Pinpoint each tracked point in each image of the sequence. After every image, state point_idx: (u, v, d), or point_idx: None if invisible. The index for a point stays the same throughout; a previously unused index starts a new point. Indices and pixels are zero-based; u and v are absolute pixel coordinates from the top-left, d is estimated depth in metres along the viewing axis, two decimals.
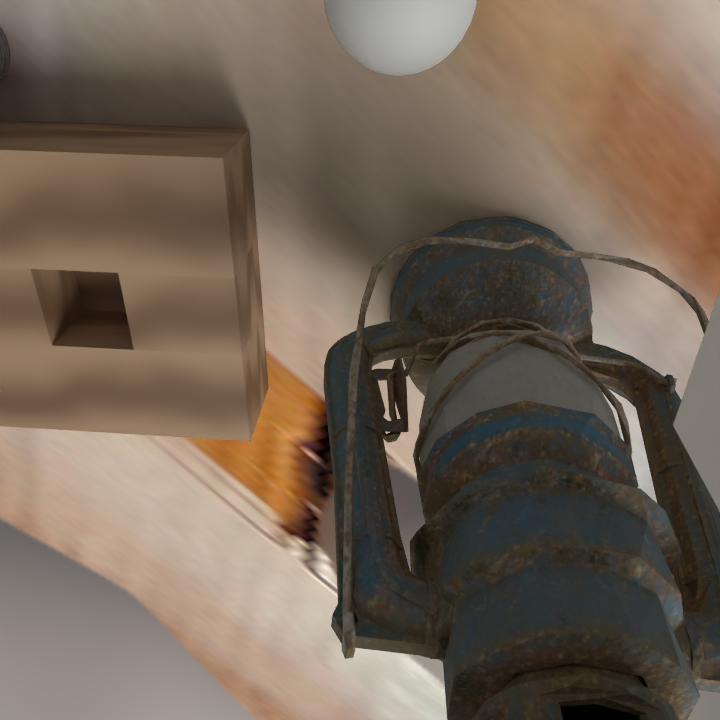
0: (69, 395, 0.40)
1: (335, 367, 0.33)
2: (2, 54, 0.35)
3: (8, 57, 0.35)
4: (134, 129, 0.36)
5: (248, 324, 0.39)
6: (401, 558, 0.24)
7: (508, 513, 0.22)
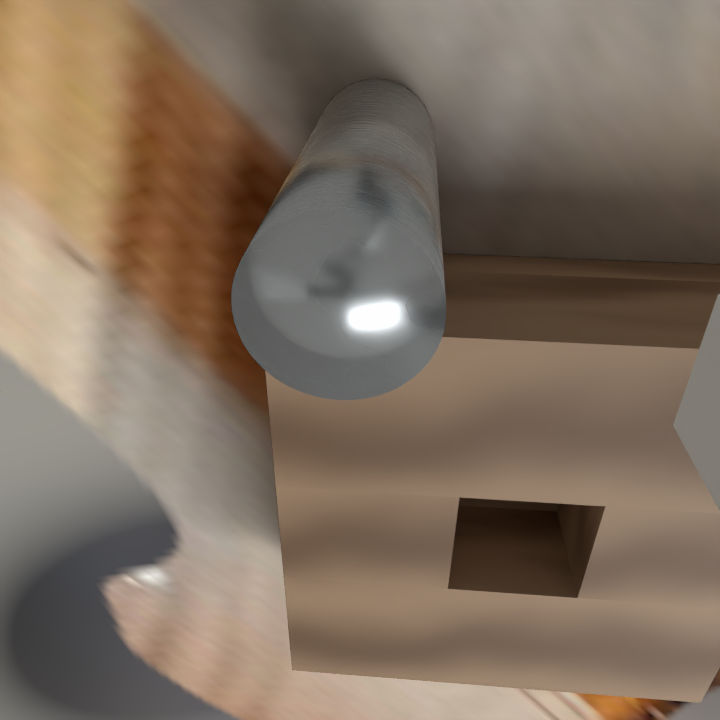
0: (446, 644, 0.27)
1: None
2: None
3: None
4: (617, 271, 0.23)
5: None
6: None
7: None
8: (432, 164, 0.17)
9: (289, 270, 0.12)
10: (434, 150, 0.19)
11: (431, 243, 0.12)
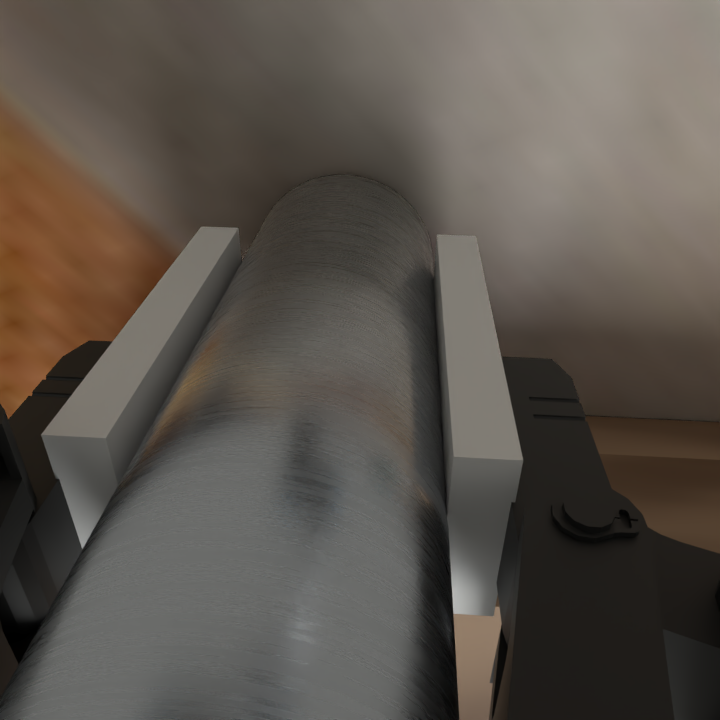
0: None
1: None
2: None
3: None
4: (693, 445, 0.16)
5: None
6: None
7: None
8: (431, 362, 0.10)
9: None
10: (433, 305, 0.12)
11: None
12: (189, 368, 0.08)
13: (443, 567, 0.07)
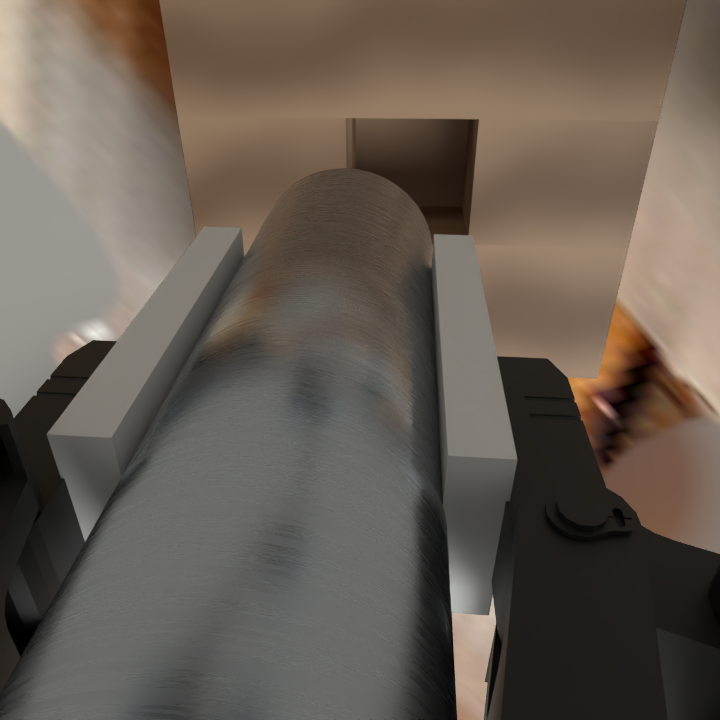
0: None
1: None
2: None
3: None
4: None
5: None
6: None
7: None
8: (429, 344, 0.10)
9: None
10: None
11: (428, 693, 0.05)
12: (199, 348, 0.09)
13: (440, 530, 0.07)
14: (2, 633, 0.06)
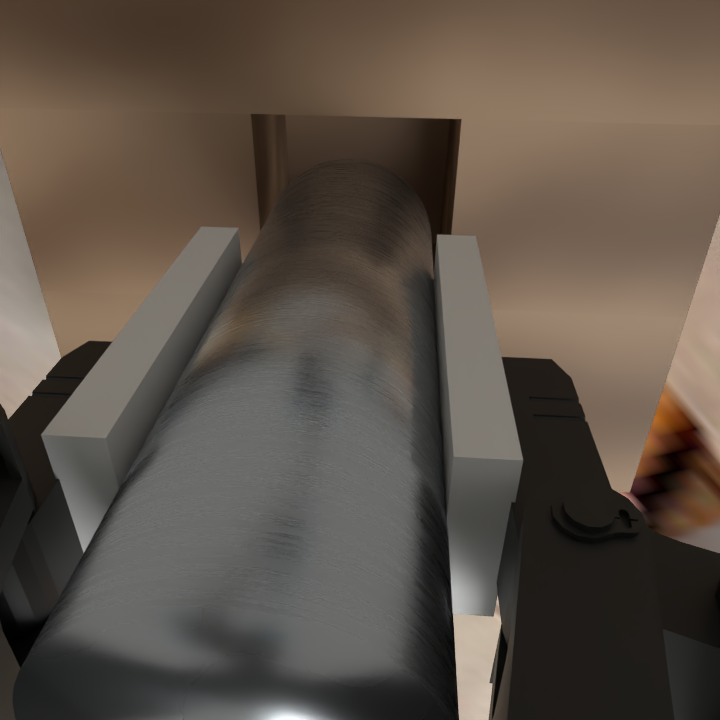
0: None
1: None
2: None
3: None
4: None
5: None
6: None
7: None
8: (429, 318, 0.11)
9: (123, 688, 0.05)
10: (431, 274, 0.13)
11: (428, 598, 0.06)
12: (218, 319, 0.10)
13: (438, 475, 0.08)
14: None
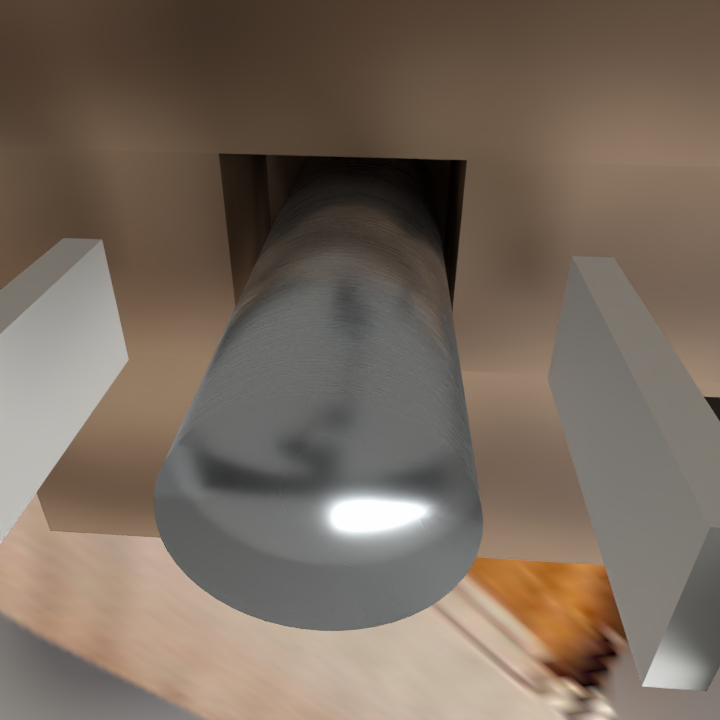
0: None
1: None
2: None
3: None
4: None
5: None
6: None
7: None
8: (440, 253, 0.13)
9: (240, 474, 0.07)
10: (438, 225, 0.15)
11: (457, 418, 0.08)
12: (270, 247, 0.12)
13: (456, 355, 0.10)
14: None
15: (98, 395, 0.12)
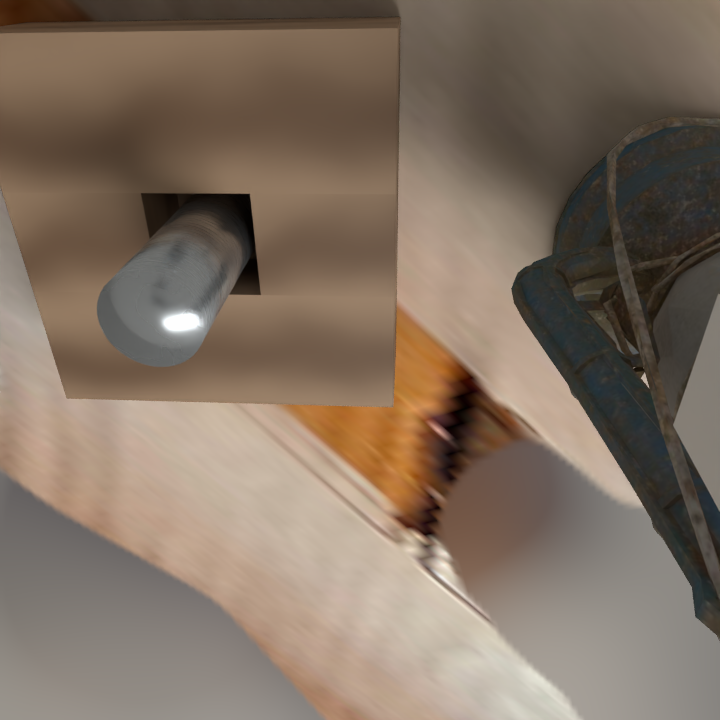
0: None
1: (539, 296, 0.26)
2: None
3: None
4: (262, 20, 0.29)
5: None
6: None
7: None
8: (237, 235, 0.29)
9: (123, 299, 0.23)
10: (251, 223, 0.31)
11: (198, 284, 0.24)
12: None
13: (217, 270, 0.26)
14: None
15: None
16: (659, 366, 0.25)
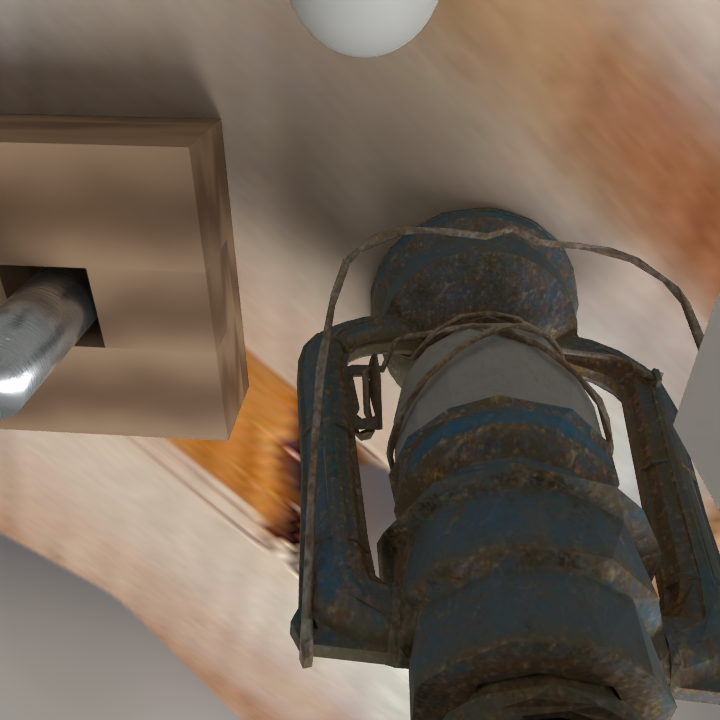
0: (41, 394, 0.39)
1: (308, 364, 0.32)
2: None
3: None
4: (102, 120, 0.35)
5: (223, 320, 0.38)
6: (367, 561, 0.23)
7: (475, 513, 0.21)
8: (75, 303, 0.35)
9: None
10: None
11: (19, 356, 0.30)
12: None
13: (45, 340, 0.32)
14: None
15: None
16: None
